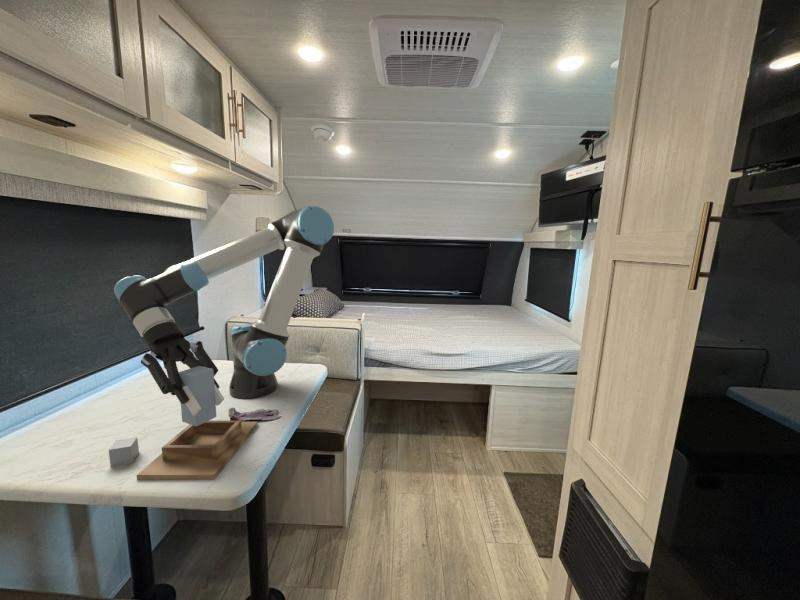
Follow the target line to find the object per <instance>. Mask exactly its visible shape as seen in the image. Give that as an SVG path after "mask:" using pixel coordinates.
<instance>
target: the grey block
mask: <svg viewBox="0 0 800 600" xmlns="http://www.w3.org/2000/svg"><path fill="white" fill-rule="evenodd" d="M139 454H140V449H139V441H138V437H136V436H135V437H130V438H125V439H124V438H122V439H117V440H115V441H114V443H112V445H111V446H110V447H109V449H108V457H109V465H110V467H115V466H121V465H125V464H130V463H133V462H135V460H136V458H137V456H138V455H139Z"/></svg>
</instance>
